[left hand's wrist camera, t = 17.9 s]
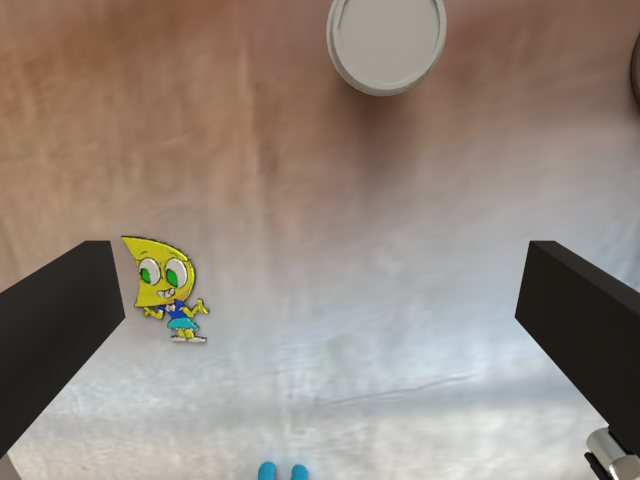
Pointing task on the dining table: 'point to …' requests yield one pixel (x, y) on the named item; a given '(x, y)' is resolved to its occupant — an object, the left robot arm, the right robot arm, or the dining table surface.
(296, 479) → the toy
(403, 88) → the disposable coffee cup
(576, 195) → the dining table surface
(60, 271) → the left robot arm
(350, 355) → the dining table surface
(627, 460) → the canister
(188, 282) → the toy
